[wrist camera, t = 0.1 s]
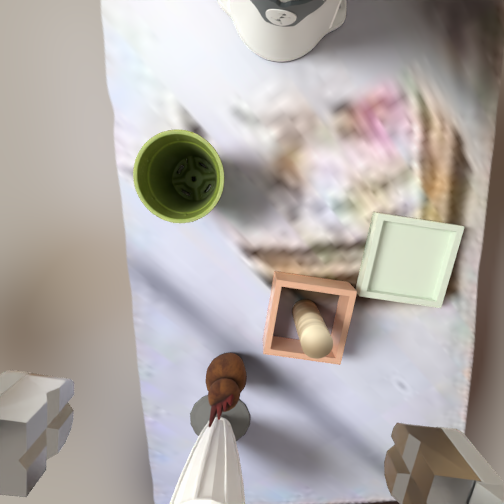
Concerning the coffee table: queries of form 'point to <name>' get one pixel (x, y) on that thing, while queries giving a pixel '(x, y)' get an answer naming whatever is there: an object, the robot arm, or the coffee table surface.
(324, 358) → the frame
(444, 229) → the sage tray
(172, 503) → the cup
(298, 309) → the beech peg
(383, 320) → the coffee table surface
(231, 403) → the wooden figurine
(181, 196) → the plant pot
